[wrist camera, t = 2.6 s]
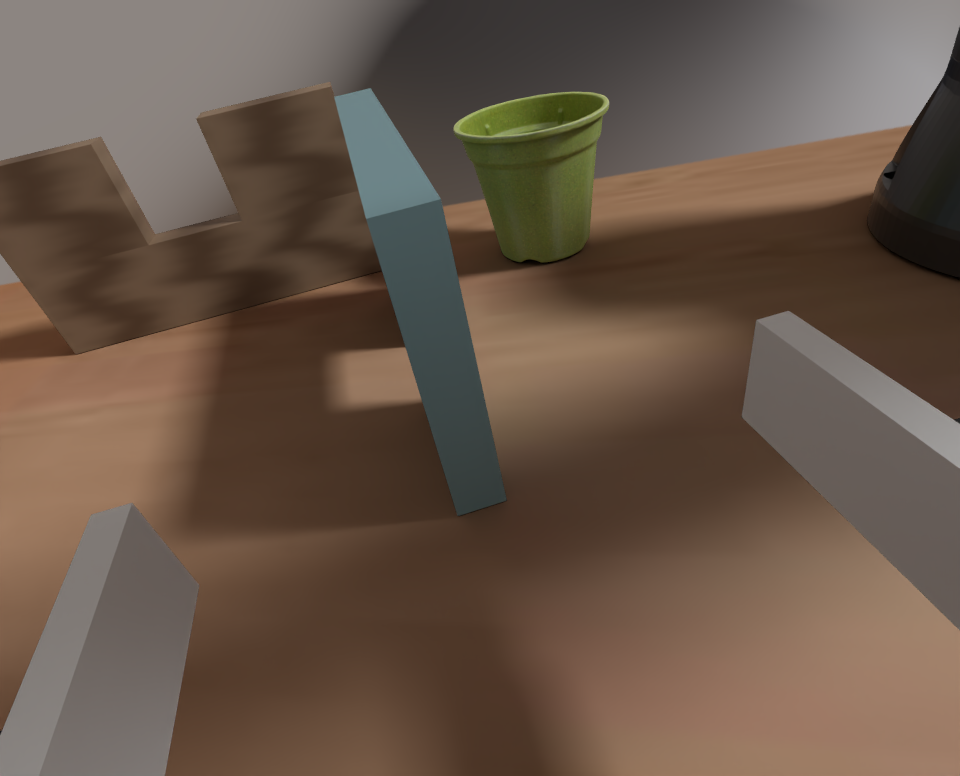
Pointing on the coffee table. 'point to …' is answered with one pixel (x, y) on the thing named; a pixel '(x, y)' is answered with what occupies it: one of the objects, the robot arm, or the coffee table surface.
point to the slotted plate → (424, 298)
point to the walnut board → (195, 248)
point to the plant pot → (537, 170)
